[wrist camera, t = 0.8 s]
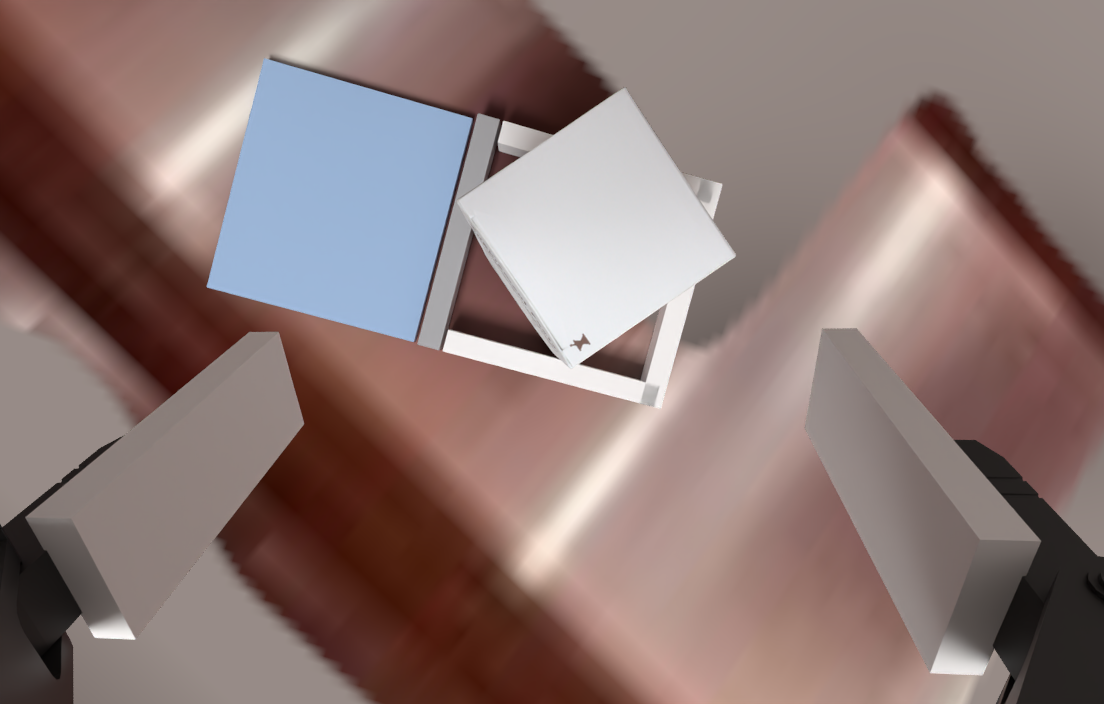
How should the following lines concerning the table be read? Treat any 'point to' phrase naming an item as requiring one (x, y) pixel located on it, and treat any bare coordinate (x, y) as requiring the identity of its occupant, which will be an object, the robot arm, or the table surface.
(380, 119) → the bay rack
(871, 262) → the table surface
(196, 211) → the table surface
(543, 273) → the supplement box
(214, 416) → the robot arm
